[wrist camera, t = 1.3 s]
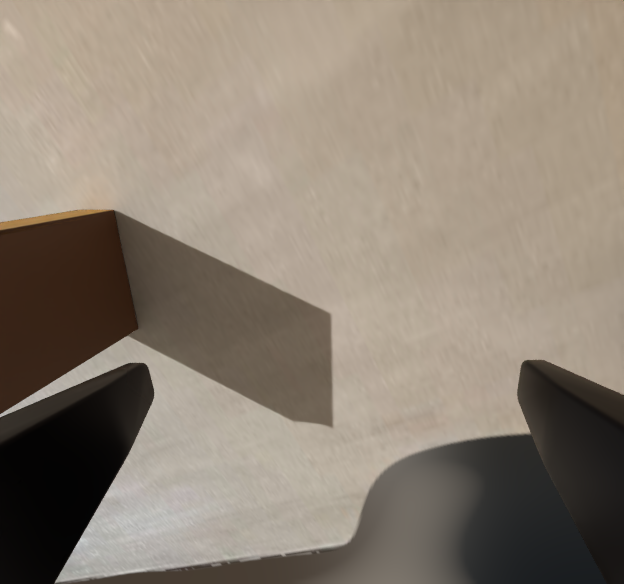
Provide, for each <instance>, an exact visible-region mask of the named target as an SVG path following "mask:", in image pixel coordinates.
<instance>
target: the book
mask: <svg viewBox="0 0 624 584" xmlns="http://www.w3.org/2000/svg"><path fill="white" fill-rule="evenodd" d="M137 329H138V325H137V320H136V315H135V311H134V306H133V301H132V296H131V291H130V286H129V282H128V277H127V272H126V267H125V262H124V257H123V253H122V248H121V243H120V238H119V233H118V228H117V224H116V219H115V214H114V210H75V211H69V212H63V213H57V214H50V215H44V216H38V217H32V218H25V219H19V220H13V221H7V222H1V223H0V414H1V413H3V412H4V411H6V410H8V409H9V408H11V407H12V406H14V405H16V404H17V403H19V402H21V401H22V400H24V399H25V398H27V397H29V396H30V395H32V394H34V393H35V392H37V391H38V390H40V389H42V388H43V387H45V386H46V385H48V384H50V383H51V382H53V381H55V380H56V379H58V378H59V377H61V376H63V375H64V374H66V373H67V372H69V371H71V370H72V369H74V368H76V367H77V366H79V365H80V364H82V363H84V362H85V361H87V360H89V359H90V358H92V357H93V356H95V355H97V354H98V353H100V352H101V351H103V350H105V349H106V348H108V347H110V346H111V345H113V344H114V343H116V342H118V341H119V340H121V339H122V338H124V337H126V336H127V335H129V334H131V333H132V332H134V331H135V330H137Z"/></svg>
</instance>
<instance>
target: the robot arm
mask: <svg viewBox="0 0 624 584" xmlns="http://www.w3.org/2000/svg"><path fill="white" fill-rule="evenodd" d="M517 396H518V401H519V404H520V406H521V409H522V412H523V414H524V417H525V419H526V422H527V424H528V427H529V429H530V432H531V434H532V437H533V439H534V442H535V444H536V447H537V449H538V452H539V454H540V457H541V459H542V461H543V464H544V466H545V468H546V470H547V472H548V474H549V475H550V477H551V479H552V481H553V483H554V485H555V487H556V488H557V491H558V492H559V494H560V496H561V498H562V500H563V502H564V504H565V506H566V508H567V509H568V511H569V513H570V515H571V517H572V519H573V521H574V523H575V525H576V526H577V528H578V530H579V532H580V534H581V536H582V538H583V540H584V541H585V543H586V545H587V547H588V549H589V551H590V553H591V555H592V557H593V558H594V560H595V562H596V564H597V566H598V568H599V570H600V571H601V573H602V575H603V577H604V579H605V581H606V583H607V584H624V395H622V394H620V393H617V392H615V391H613V390H611V389H608V388H606V387H604V386H601V385H599V384H597V383H595V382H592V381H590V380H588V379H586V378H583V377H581V376H579V375H576V374H574V373H572V372H570V371H567V370H565V369H563V368H561V367H558V366H556V365H554V364H551V363H549V362H547V361H544V360H525V361H524V362H523V363H522V365H521V370H520V377H519V384H518V391H517ZM153 399H154V388H153V384H152V380H151V376H150V373H149V369H148V367H147V365H146V364H144V363H128V364H125V365H123V366H121V367H118V368H116V369H114V370H111V371H109V372H107V373H104V374H102V375H99V376H97V377H95V378H92V379H90V380H88V381H85V382H83V383H81V384H78V385H76V386H73V387H71V388H69V389H66V390H64V391H62V392H59V393H57V394H55V395H52V396H50V397H47V398H45V399H43V400H40V401H38V402H36V403H33V404H31V405H28V406H26V407H24V408H21V409H19V410H17V411H14V412H12V413H10V414H7V415H5V416H2V417H0V584H54V583H55V581H56V579H57V578H58V576H59V574H60V572H61V571H62V569H63V567H64V565H65V564H66V562H67V560H68V559H69V557H70V555H71V553H72V552H73V550H74V548H75V546H76V545H77V543H78V541H79V539H80V538H81V536H82V534H83V532H84V531H85V529H86V527H87V526H88V524H89V522H90V520H91V519H92V517H93V515H94V513H95V512H96V510H97V508H98V506H99V505H100V503H101V501H102V500H103V498H104V496H105V494H106V493H107V491H108V489H109V487H110V486H111V484H112V482H113V480H114V479H115V477H116V475H117V474H118V472H119V470H120V468H121V467H122V465H123V463H124V461H125V459H126V458H127V456H128V454H129V452H130V450H131V448H132V446H133V444H134V441H135V439H136V437H137V435H138V433H139V430H140V428H141V426H142V424H143V422H144V419H145V417H146V415H147V413H148V410H149V408H150V406H151V404H152V402H153Z"/></svg>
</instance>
